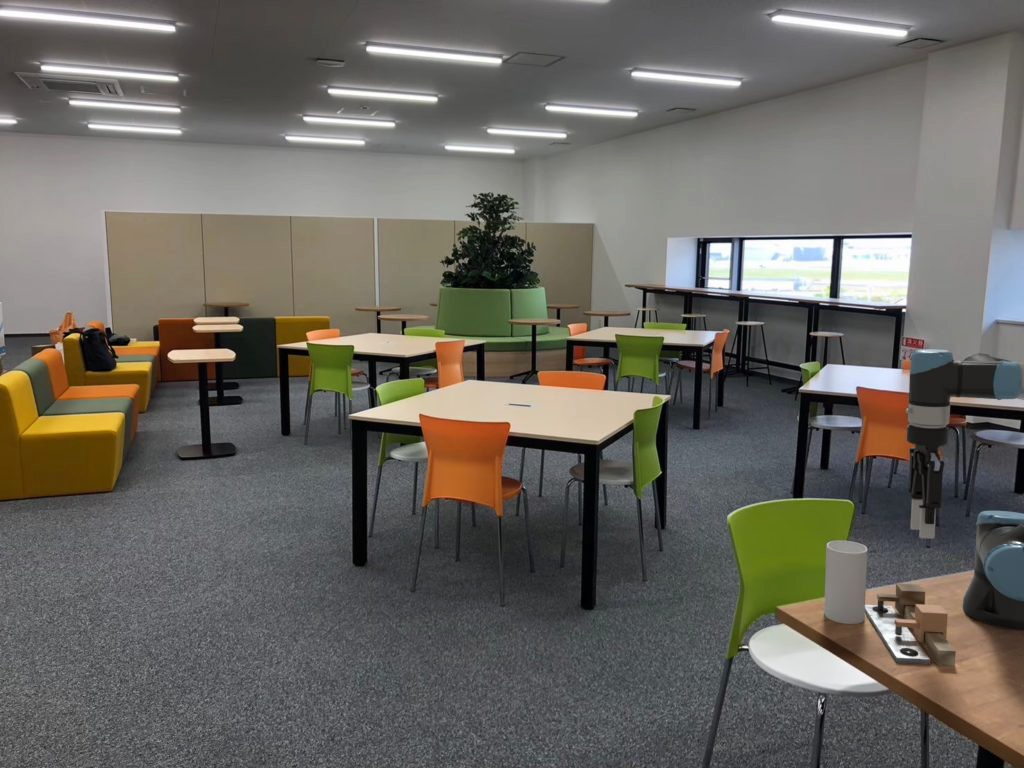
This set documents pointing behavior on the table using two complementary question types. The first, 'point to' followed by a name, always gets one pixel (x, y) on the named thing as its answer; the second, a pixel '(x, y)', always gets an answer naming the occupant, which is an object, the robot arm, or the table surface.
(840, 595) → the cup
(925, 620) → the block
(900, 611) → the fixed leg
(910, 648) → the bolt strip
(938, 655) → the beam
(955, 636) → the table surface
